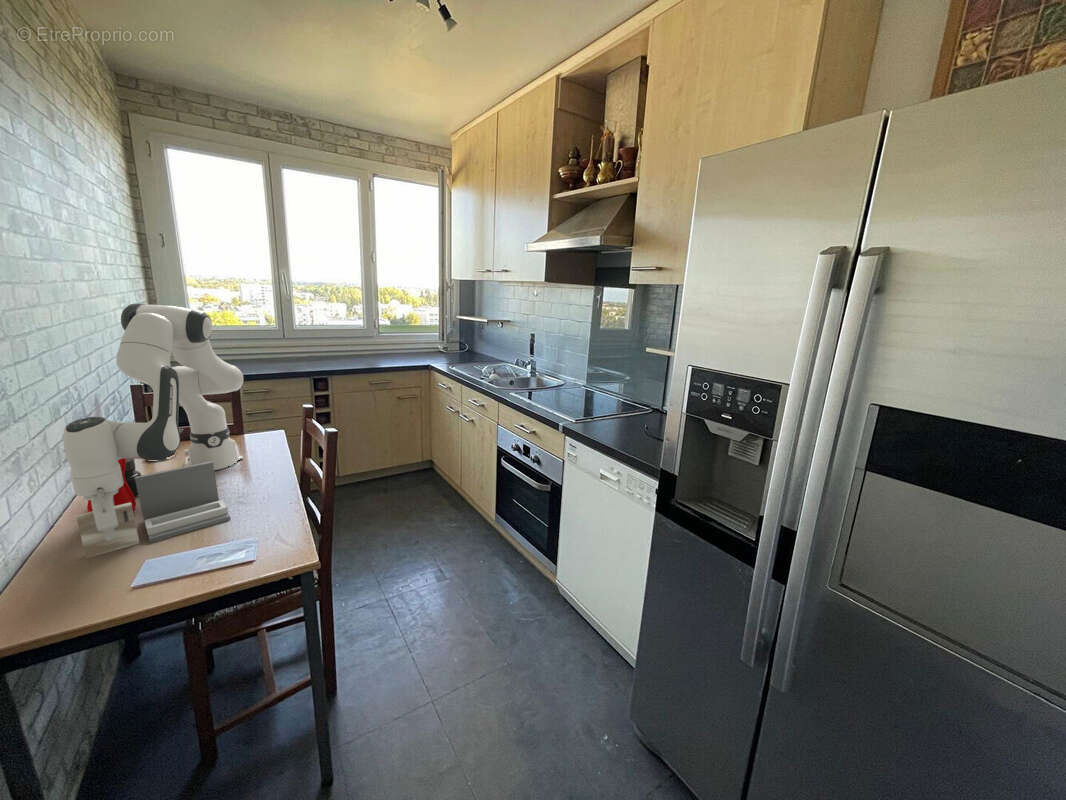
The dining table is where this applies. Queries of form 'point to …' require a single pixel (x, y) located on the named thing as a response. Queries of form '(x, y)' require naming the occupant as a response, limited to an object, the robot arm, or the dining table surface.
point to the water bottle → (120, 492)
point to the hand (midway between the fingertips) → (109, 532)
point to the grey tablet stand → (180, 500)
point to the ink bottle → (131, 475)
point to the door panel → (96, 539)
